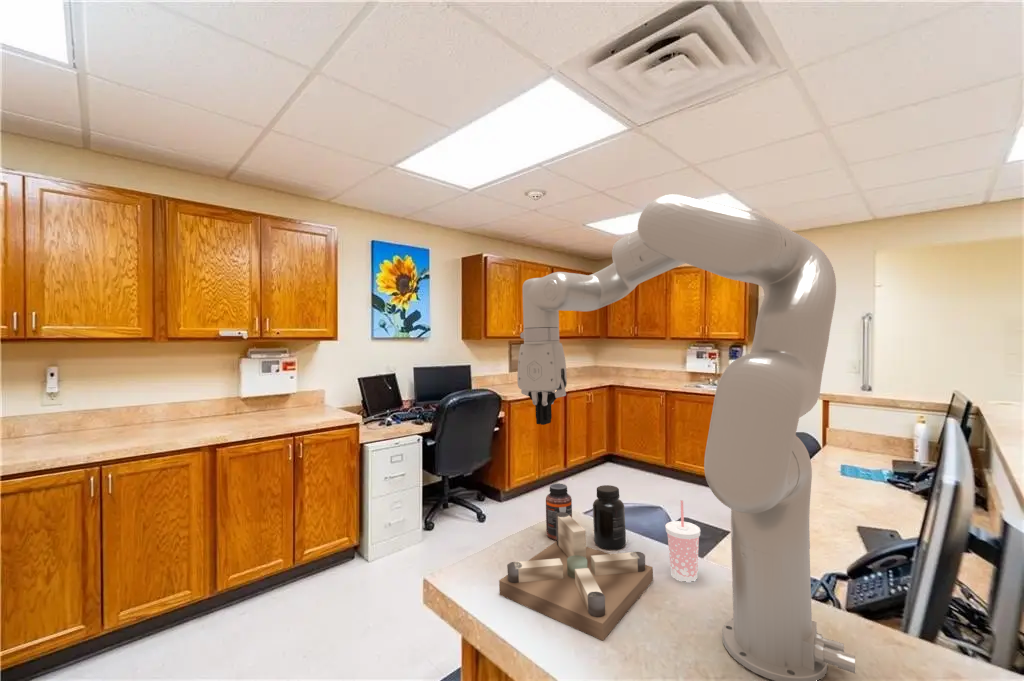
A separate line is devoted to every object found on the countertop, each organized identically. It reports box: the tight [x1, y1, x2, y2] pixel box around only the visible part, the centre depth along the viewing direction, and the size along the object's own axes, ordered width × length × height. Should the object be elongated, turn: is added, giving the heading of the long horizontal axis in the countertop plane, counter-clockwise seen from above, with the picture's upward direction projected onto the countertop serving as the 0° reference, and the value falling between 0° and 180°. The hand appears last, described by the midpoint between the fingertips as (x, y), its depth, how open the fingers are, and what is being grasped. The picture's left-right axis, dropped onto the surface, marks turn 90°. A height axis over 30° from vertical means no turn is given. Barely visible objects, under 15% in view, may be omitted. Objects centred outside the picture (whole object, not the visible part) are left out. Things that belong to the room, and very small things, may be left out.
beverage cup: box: [664, 499, 702, 583], centre depth 81 cm, size 6×6×14 cm
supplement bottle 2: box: [592, 484, 627, 551], centre depth 95 cm, size 7×7×12 cm
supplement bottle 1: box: [545, 483, 573, 541], centre depth 99 cm, size 6×6×11 cm
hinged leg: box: [556, 512, 587, 558], centre depth 86 cm, size 10×3×6 cm, turn 16°
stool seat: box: [498, 540, 654, 641], centre depth 78 cm, size 20×20×5 cm
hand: (543, 423), depth 92 cm, fingers closed
